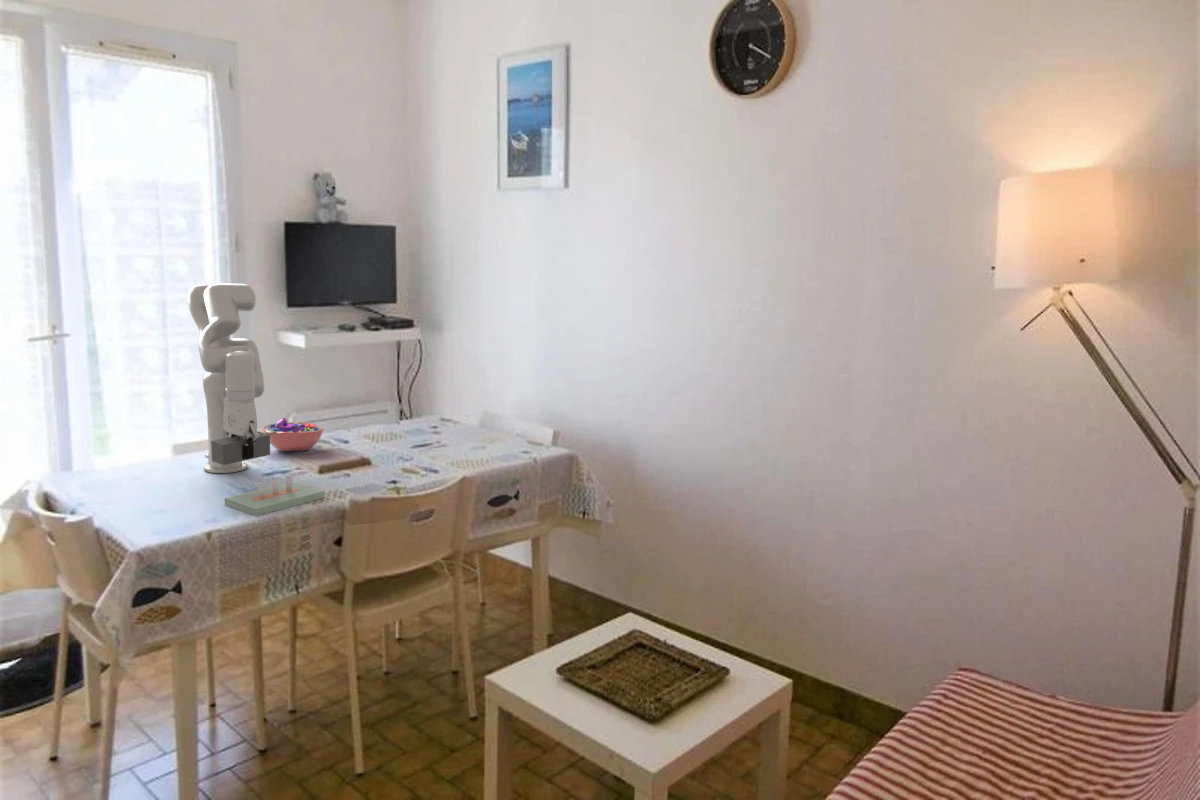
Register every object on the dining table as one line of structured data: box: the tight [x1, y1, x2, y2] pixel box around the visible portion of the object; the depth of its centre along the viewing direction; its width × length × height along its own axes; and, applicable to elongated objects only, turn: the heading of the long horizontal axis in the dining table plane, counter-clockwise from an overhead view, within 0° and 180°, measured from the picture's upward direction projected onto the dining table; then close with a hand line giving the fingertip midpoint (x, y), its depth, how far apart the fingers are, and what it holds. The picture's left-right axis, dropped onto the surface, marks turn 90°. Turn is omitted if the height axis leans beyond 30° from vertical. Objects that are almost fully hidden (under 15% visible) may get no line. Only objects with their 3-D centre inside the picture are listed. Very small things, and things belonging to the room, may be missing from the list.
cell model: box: [262, 417, 324, 452], centre depth 293 cm, size 17×20×11 cm
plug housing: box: [211, 430, 277, 465], centre depth 247 cm, size 6×19×6 cm, turn 146°
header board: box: [224, 474, 325, 517], centre depth 239 cm, size 14×22×6 cm, turn 146°
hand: (241, 455), depth 246 cm, fingers closed on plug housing, 5 cm apart
